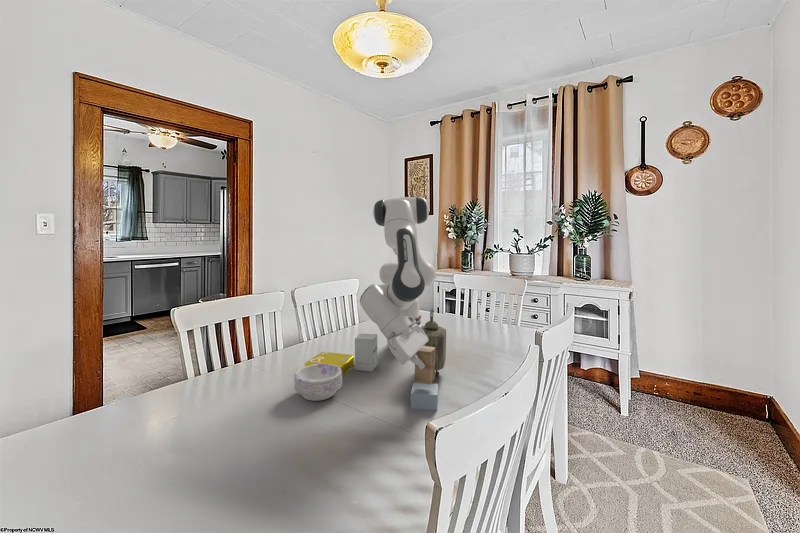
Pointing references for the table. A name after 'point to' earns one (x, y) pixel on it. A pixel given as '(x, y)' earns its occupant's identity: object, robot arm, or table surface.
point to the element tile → (333, 360)
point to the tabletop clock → (436, 341)
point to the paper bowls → (318, 381)
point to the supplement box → (366, 352)
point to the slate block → (424, 396)
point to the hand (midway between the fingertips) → (427, 363)
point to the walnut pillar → (428, 371)
